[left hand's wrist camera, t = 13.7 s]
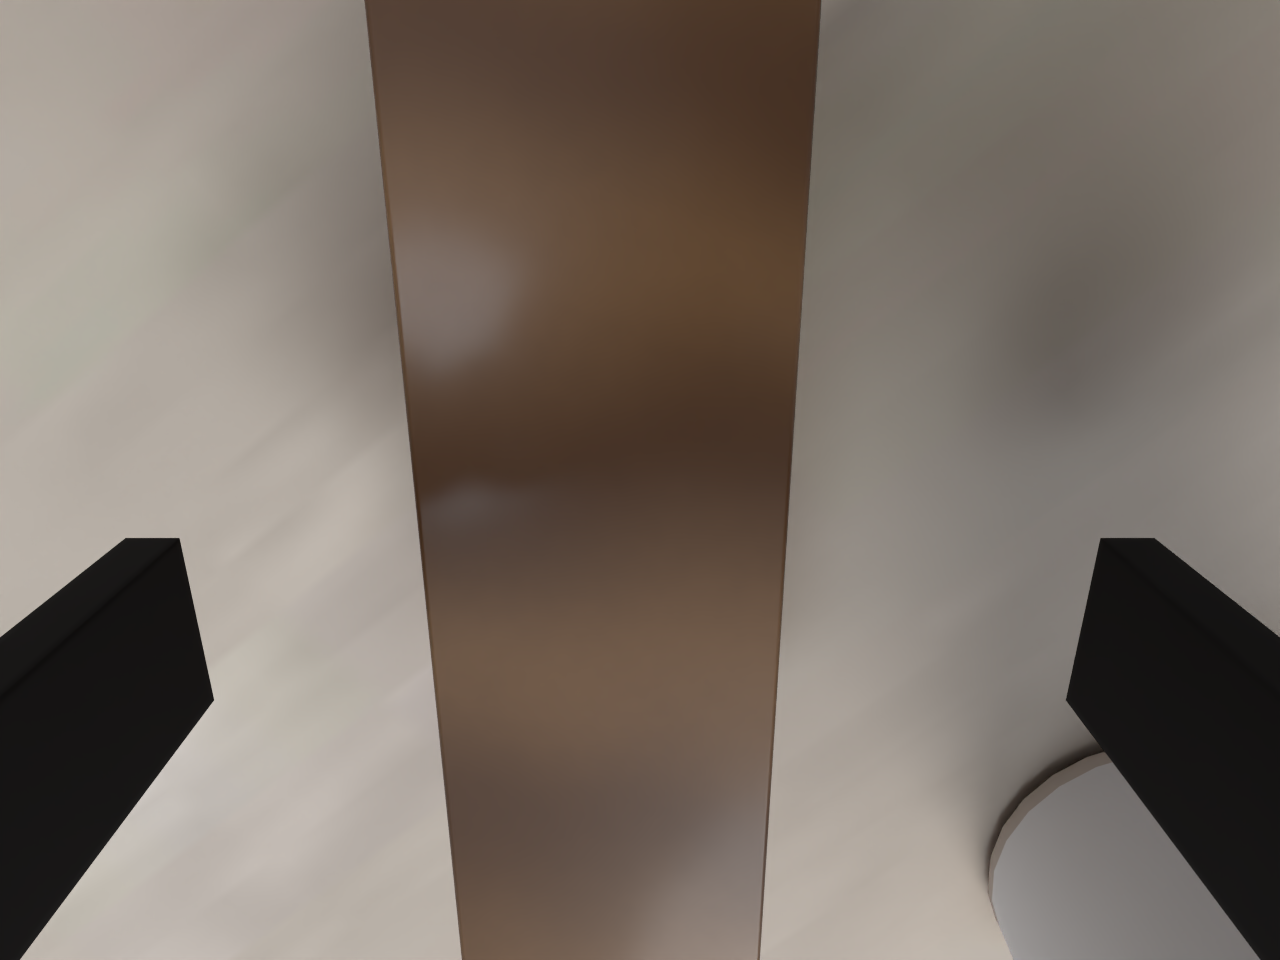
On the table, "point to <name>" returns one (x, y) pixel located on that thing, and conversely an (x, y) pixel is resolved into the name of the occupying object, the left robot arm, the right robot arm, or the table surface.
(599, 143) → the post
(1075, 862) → the mug
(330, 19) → the table surface
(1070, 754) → the table surface
